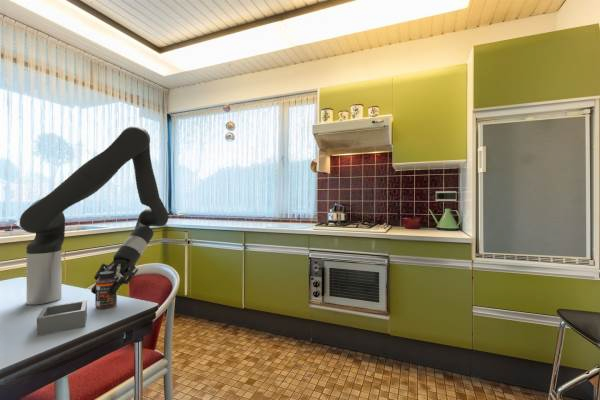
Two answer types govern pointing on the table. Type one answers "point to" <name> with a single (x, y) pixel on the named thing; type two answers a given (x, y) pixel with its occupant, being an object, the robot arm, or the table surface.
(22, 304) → the table surface
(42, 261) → the robot arm
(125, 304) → the table surface
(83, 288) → the table surface
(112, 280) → the supplement bottle
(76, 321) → the open box
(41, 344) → the table surface
